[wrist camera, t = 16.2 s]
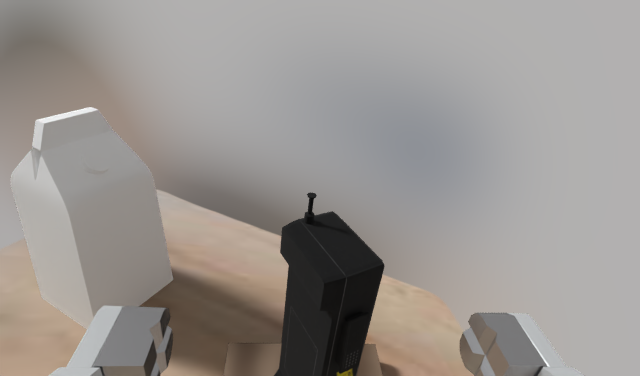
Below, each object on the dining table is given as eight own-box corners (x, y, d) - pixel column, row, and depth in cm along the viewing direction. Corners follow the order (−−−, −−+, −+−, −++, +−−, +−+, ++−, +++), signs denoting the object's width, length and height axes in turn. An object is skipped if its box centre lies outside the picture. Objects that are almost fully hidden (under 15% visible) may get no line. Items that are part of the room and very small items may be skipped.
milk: (120, 250, 59) (87, 91, 46) (173, 279, 55) (153, 114, 42) (41, 298, 50) (-29, 114, 37) (98, 337, 46) (42, 147, 33)
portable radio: (355, 437, 36) (418, 239, 24) (302, 470, 33) (340, 264, 21) (317, 370, 42) (351, 181, 29) (268, 393, 39) (282, 195, 26)
